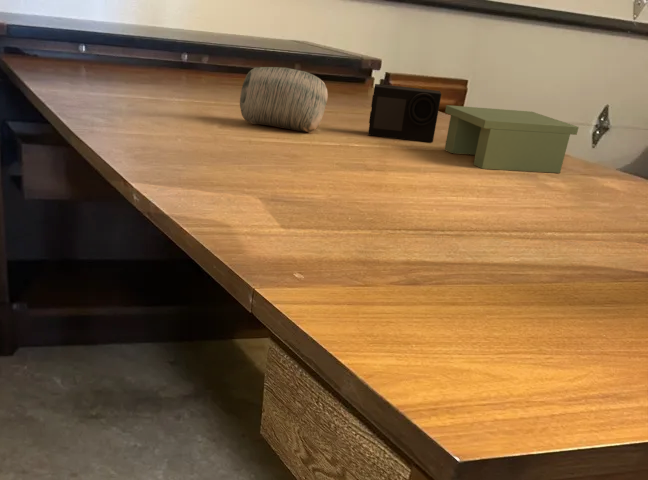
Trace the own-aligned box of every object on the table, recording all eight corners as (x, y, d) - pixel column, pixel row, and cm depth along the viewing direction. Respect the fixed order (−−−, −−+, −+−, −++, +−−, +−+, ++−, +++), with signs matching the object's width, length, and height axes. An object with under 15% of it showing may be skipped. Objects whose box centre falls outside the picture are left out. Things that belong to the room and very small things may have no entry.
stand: (522, 154, 127) (532, 111, 123) (566, 173, 115) (579, 126, 112) (438, 149, 123) (446, 105, 120) (475, 168, 112) (485, 120, 109)
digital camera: (367, 136, 128) (373, 86, 124) (367, 131, 133) (374, 82, 129) (433, 144, 128) (442, 93, 124) (431, 138, 132) (440, 90, 128)
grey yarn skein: (220, 99, 123) (252, 35, 121) (242, 125, 132) (272, 66, 130) (294, 137, 120) (328, 72, 118) (311, 161, 129) (343, 101, 127)
